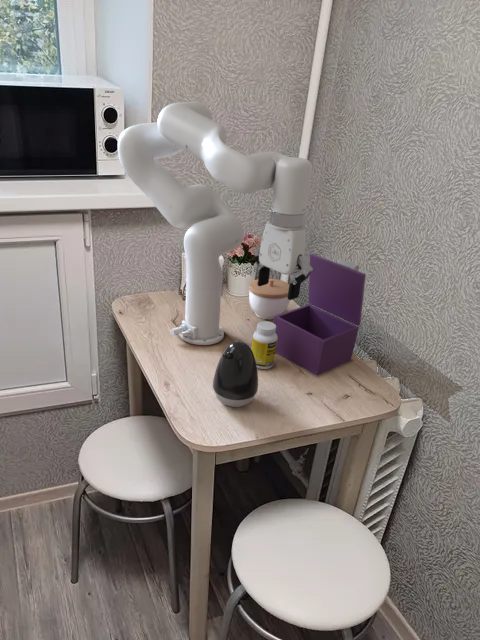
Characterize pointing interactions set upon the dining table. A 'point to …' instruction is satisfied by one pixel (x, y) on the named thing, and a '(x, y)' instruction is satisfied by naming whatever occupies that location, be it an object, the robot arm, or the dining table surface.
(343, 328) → the box
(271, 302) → the lidded bowl
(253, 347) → the pill bottle
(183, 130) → the robot arm
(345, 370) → the dining table surface
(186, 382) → the dining table surface
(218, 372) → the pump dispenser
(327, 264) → the file box lid
